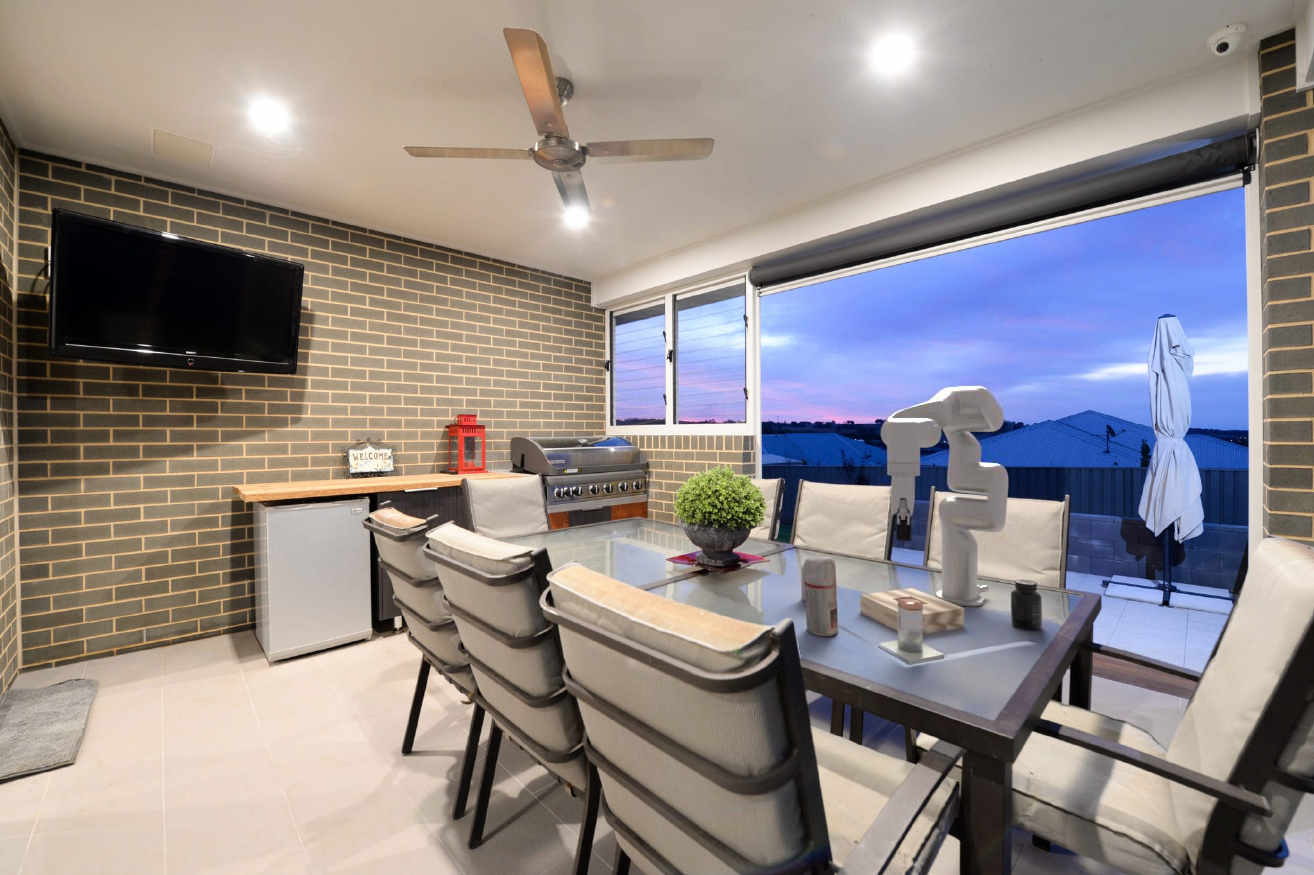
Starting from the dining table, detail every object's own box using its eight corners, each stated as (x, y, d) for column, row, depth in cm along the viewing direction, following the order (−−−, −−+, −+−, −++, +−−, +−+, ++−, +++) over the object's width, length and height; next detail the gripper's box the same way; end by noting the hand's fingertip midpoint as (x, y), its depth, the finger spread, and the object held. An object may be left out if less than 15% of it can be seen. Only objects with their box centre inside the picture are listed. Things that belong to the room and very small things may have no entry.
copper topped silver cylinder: (910, 642, 130) (910, 597, 130) (928, 651, 125) (928, 604, 124) (892, 645, 128) (892, 600, 128) (909, 654, 123) (909, 607, 123)
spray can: (821, 640, 134) (821, 561, 134) (798, 629, 142) (798, 554, 141) (845, 633, 138) (845, 557, 138) (822, 623, 145) (821, 550, 145)
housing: (911, 608, 156) (911, 588, 156) (964, 631, 139) (964, 608, 139) (860, 615, 151) (860, 594, 151) (908, 640, 134) (908, 616, 133)
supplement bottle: (1036, 623, 144) (1037, 579, 143) (1046, 632, 137) (1046, 586, 137) (1007, 620, 146) (1007, 577, 146) (1015, 629, 140) (1015, 584, 139)
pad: (911, 641, 133) (911, 637, 133) (944, 658, 123) (944, 654, 123) (878, 647, 130) (878, 643, 130) (909, 665, 120) (909, 660, 120)
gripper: (889, 465, 144) (889, 528, 145) (885, 472, 128) (886, 542, 129) (920, 465, 141) (920, 529, 141) (920, 473, 125) (920, 545, 126)
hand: (904, 536), depth 135 cm, fingers open, 9 cm apart
